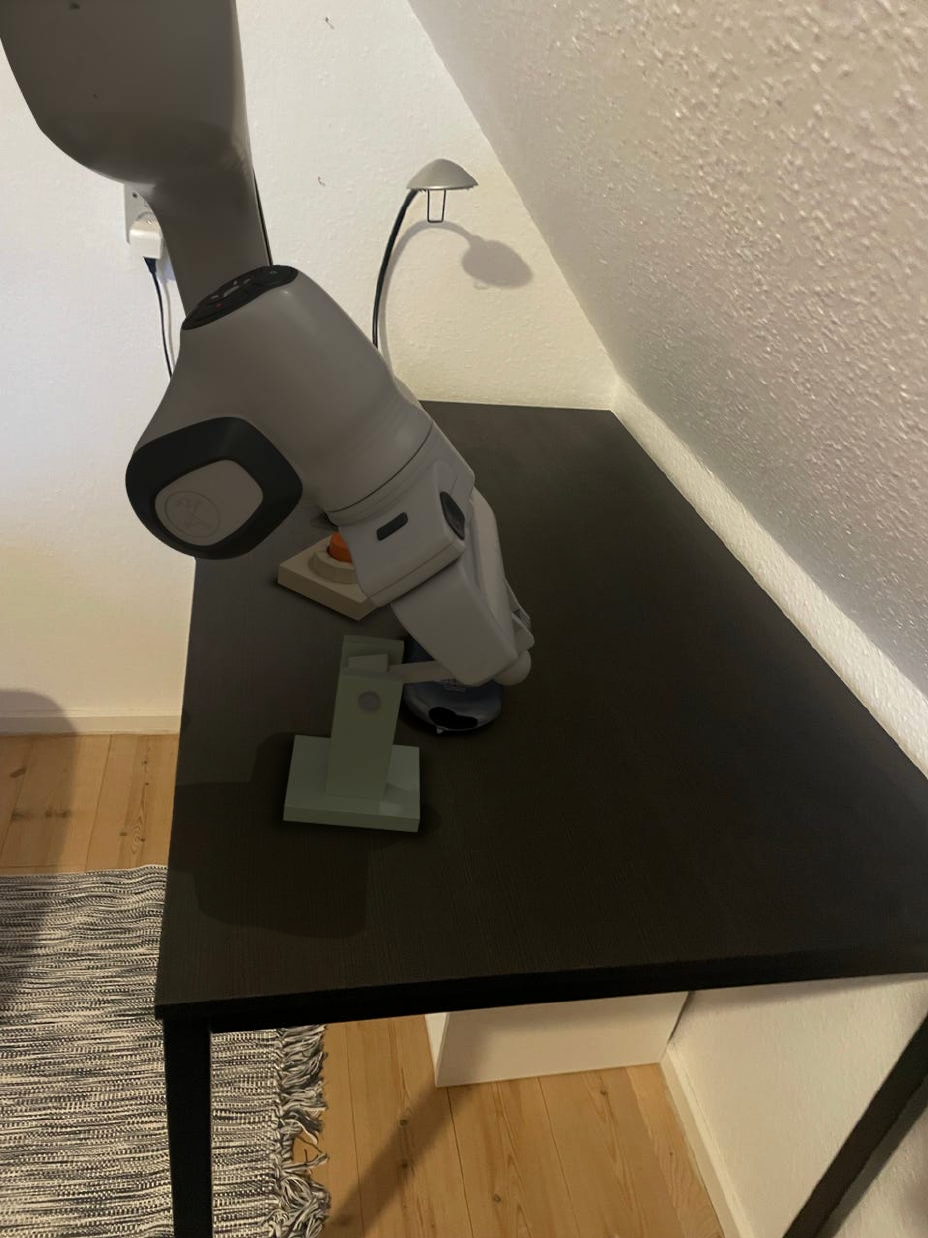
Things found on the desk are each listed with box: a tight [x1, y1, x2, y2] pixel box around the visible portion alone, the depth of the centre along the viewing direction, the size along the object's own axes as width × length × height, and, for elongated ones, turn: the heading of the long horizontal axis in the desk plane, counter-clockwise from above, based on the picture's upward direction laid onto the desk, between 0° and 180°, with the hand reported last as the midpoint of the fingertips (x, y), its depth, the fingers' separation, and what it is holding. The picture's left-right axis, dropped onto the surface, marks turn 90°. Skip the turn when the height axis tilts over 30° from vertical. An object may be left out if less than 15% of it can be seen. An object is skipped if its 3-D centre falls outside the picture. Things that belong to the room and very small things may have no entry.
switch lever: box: [348, 649, 532, 686], centre depth 68 cm, size 13×3×3 cm, turn 93°
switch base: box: [282, 633, 421, 833], centre depth 70 cm, size 10×8×13 cm
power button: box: [329, 531, 353, 563], centre depth 96 cm, size 4×4×2 cm
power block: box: [277, 534, 378, 622], centre depth 97 cm, size 10×9×4 cm
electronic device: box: [401, 631, 506, 734], centre depth 86 cm, size 9×6×15 cm
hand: (524, 638), depth 67 cm, fingers closed, pressing on switch lever
